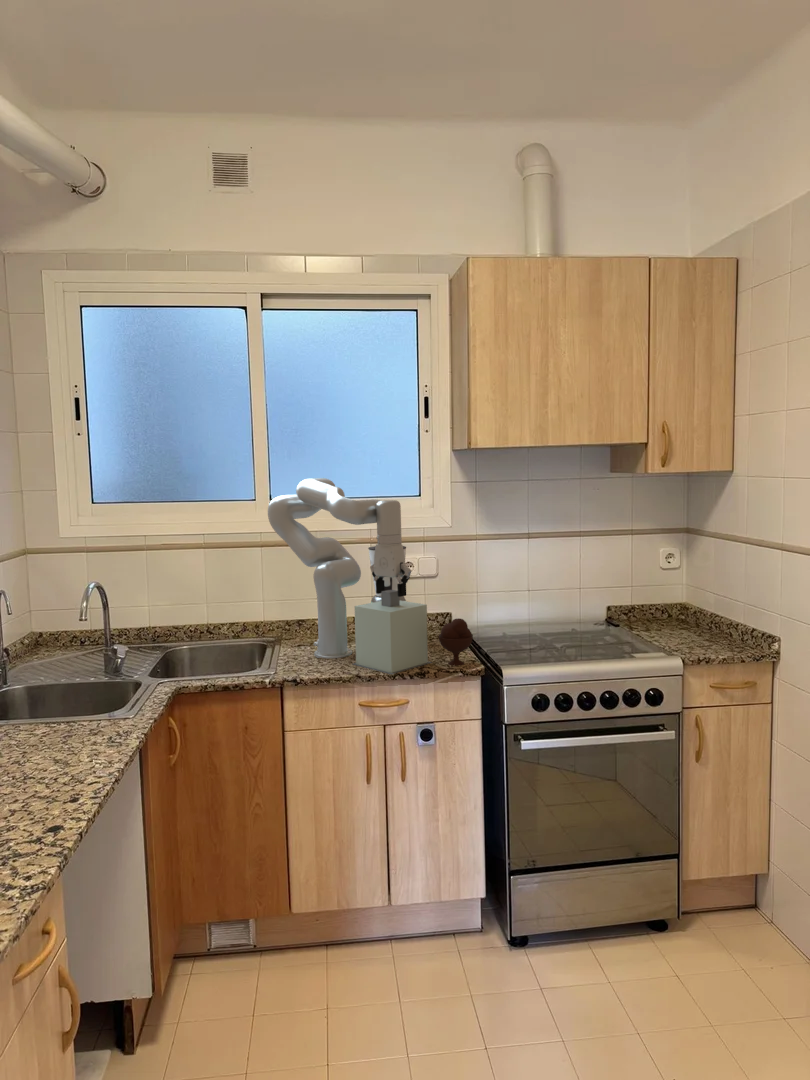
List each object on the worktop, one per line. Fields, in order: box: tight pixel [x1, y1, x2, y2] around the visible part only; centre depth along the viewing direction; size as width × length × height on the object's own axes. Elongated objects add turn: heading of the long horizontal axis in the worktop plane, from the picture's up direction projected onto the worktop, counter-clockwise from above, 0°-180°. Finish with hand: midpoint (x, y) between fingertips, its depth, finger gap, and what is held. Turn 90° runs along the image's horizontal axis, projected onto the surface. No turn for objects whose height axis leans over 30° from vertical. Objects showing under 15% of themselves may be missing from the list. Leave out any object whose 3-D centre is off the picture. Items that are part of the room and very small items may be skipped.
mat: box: [352, 661, 433, 675], centre depth 232 cm, size 18×18×1 cm
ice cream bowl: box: [438, 618, 474, 667], centre depth 230 cm, size 11×11×15 cm
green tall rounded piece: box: [367, 545, 407, 603], centre depth 261 cm, size 19×13×35 cm
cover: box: [354, 590, 429, 673], centre depth 231 cm, size 16×16×23 cm
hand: (391, 594), depth 230 cm, fingers open, 9 cm apart
